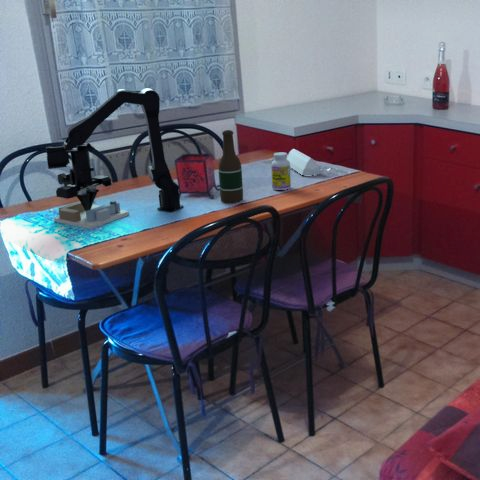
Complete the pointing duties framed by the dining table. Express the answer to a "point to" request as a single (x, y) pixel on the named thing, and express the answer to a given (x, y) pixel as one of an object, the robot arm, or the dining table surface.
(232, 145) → the beer bottle
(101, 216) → the seat
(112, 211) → the leg
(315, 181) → the dining table surface
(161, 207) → the robot arm
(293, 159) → the white triangular prism
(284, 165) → the supplement bottle
